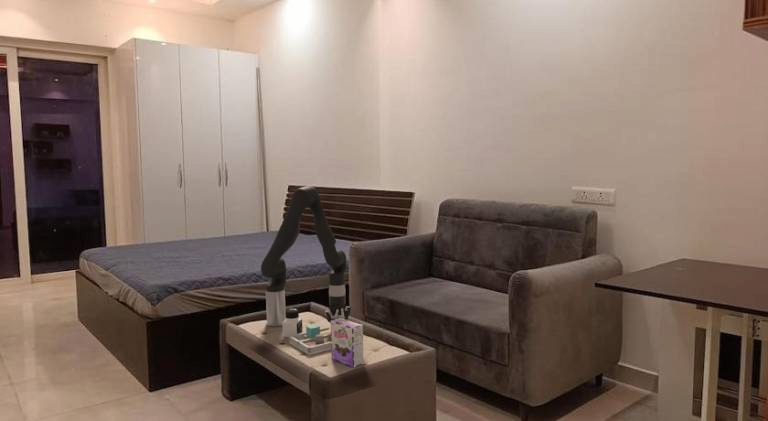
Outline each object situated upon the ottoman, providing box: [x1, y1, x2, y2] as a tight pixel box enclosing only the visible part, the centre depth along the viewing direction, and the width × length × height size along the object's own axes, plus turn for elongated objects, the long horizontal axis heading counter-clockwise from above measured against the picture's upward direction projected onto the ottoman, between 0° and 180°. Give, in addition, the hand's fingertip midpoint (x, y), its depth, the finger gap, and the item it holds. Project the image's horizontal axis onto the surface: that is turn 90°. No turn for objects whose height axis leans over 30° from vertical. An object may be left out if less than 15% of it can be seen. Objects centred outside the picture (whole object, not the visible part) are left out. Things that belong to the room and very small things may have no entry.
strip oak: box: [304, 328, 331, 339], centre depth 251 cm, size 6×18×6 cm, turn 126°
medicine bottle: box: [282, 308, 304, 338], centre depth 255 cm, size 7×7×12 cm
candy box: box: [330, 317, 364, 369], centre depth 222 cm, size 14×6×16 cm, turn 45°
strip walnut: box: [304, 337, 331, 347], centre depth 241 cm, size 6×18×6 cm, turn 126°
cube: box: [305, 324, 321, 338], centre depth 247 cm, size 4×4×4 cm
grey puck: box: [315, 334, 324, 344], centre depth 239 cm, size 4×4×3 cm
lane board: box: [288, 326, 332, 356], centre depth 244 cm, size 19×20×3 cm
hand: (338, 329), depth 255 cm, fingers closed on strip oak, 3 cm apart
